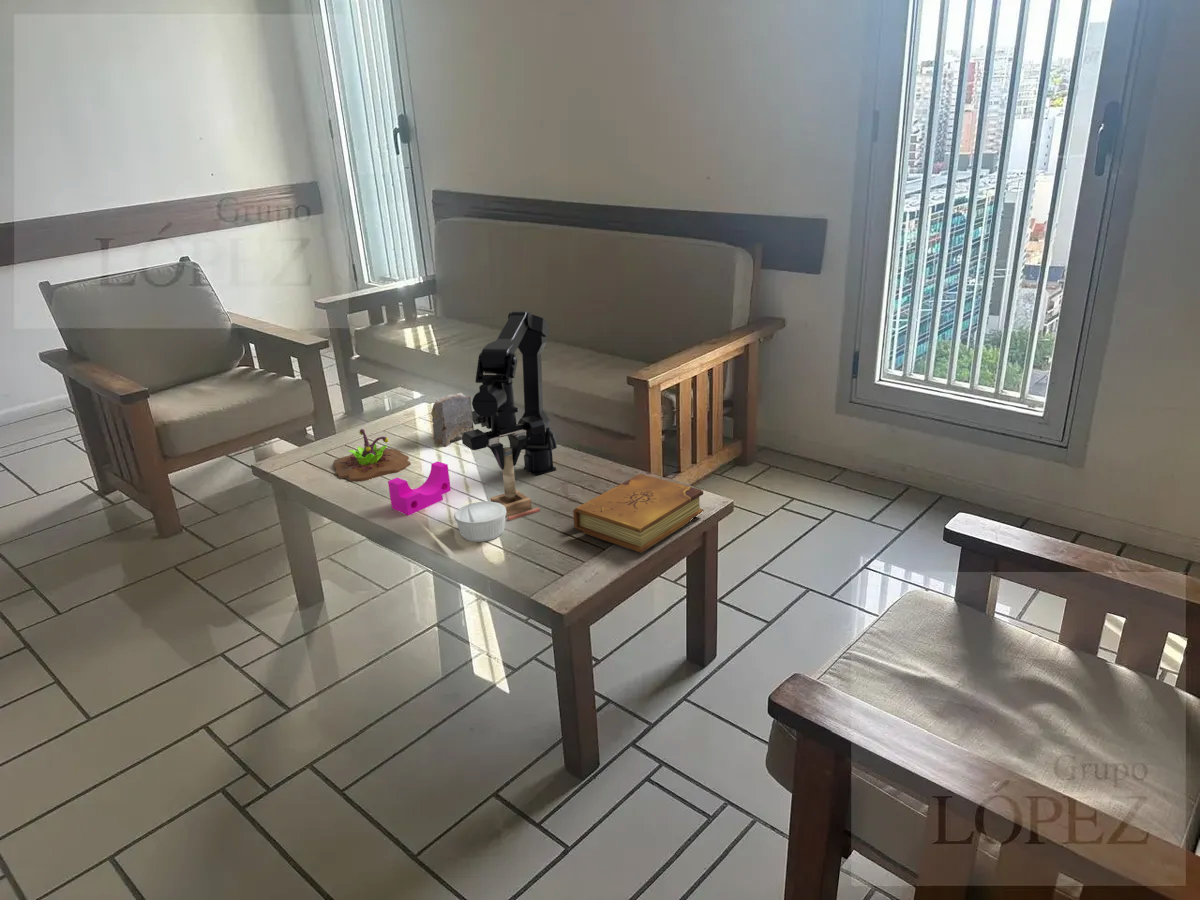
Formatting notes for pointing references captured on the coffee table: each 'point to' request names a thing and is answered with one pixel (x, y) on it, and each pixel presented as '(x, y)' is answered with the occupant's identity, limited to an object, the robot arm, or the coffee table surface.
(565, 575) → the coffee table surface
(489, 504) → the ramekin
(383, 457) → the plant
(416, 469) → the coffee table surface
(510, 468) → the dowel
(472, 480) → the coffee table surface
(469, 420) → the geological specimen
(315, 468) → the coffee table surface
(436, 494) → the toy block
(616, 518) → the diary
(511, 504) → the wooden square frame
